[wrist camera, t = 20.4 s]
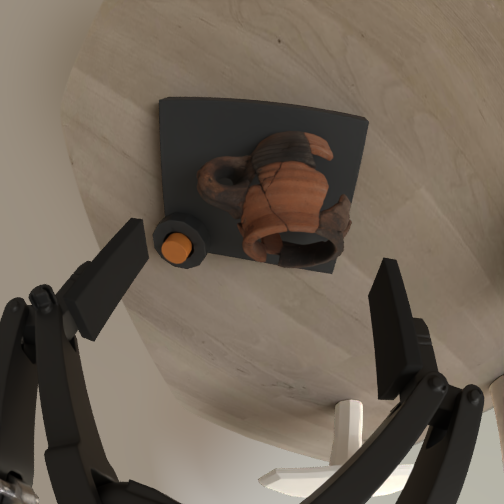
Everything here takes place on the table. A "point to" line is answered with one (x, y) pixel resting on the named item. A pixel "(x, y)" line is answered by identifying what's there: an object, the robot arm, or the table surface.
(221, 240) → the scale
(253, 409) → the table surface
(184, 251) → the scale button
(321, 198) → the pottery mug
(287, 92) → the table surface
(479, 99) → the table surface
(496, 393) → the candle
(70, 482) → the robot arm
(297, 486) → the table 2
